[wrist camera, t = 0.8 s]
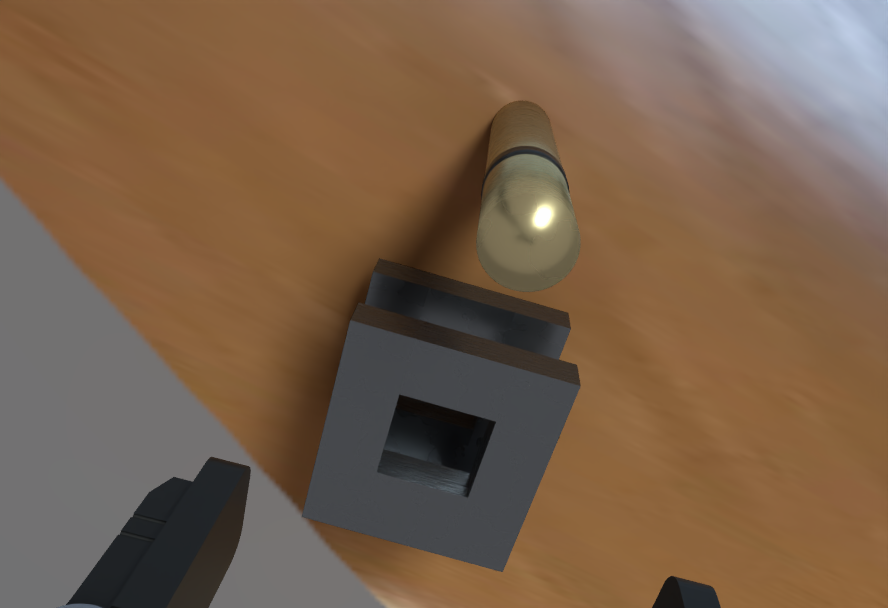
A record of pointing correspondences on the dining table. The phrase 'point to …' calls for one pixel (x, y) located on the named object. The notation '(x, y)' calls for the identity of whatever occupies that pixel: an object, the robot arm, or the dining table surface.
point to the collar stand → (442, 416)
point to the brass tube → (525, 204)
